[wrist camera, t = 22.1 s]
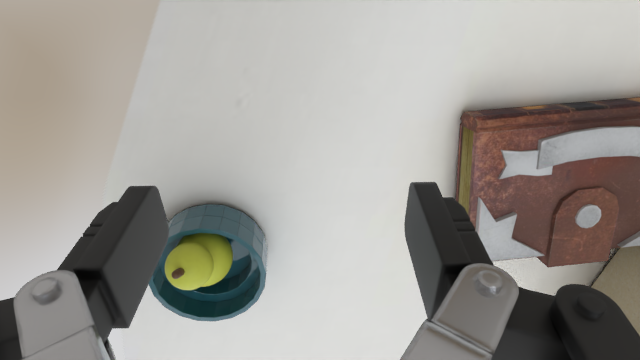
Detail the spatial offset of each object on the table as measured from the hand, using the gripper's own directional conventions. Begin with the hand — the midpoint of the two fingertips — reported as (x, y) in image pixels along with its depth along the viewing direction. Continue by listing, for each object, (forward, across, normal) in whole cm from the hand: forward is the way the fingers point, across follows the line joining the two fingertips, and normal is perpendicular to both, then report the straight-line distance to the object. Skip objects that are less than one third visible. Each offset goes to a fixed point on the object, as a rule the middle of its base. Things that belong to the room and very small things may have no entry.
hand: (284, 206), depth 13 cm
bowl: (+20, +10, +21) cm, 31 cm away
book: (+24, -26, +15) cm, 39 cm away
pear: (+20, +10, +20) cm, 30 cm away
